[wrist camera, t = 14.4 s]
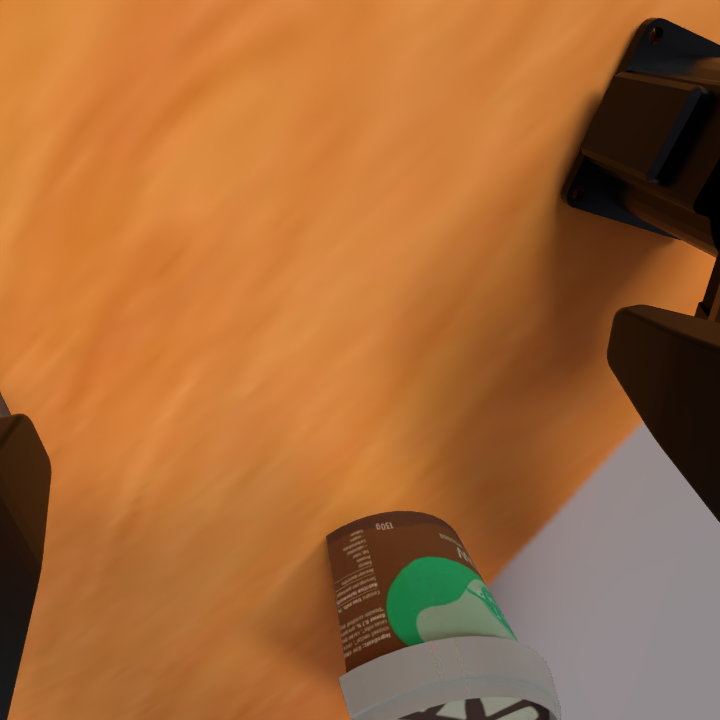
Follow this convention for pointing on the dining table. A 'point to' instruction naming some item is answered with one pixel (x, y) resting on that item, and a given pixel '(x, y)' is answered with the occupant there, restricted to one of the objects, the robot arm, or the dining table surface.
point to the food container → (427, 629)
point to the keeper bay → (3, 408)
